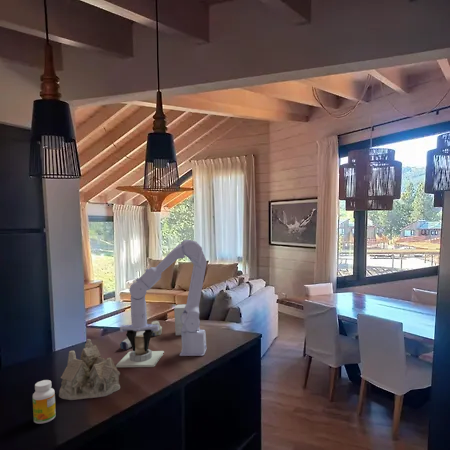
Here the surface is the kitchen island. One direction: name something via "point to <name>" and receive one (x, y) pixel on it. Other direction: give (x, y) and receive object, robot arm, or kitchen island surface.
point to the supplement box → (178, 318)
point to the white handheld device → (126, 342)
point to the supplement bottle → (44, 402)
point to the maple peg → (139, 345)
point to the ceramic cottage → (89, 375)
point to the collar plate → (140, 364)
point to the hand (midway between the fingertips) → (140, 350)
